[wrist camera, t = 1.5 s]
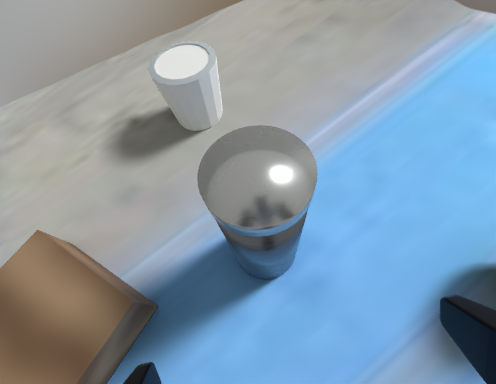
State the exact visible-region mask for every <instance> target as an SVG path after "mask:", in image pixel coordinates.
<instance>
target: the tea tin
mask: <svg viewBox="0 0 496 384" xmlns="http://www.w3.org/2000/svg"><path fill="white" fill-rule="evenodd" d="M316 182H317V166H316V162H315V159H314V156H313V154H312V153H311V151H310V149H309V148H308V147H307V145H306V144H305V143H304V142H303V141H302V140H301V139H299V138H298V137H297V136H295V135H294V134H292V133H290V132H288V131H286V130H283V129H280V128H277V127H271V126H248V127H244V128H240V129H237V130H234V131H232V132H230V133H228V134H226V135H224V136H222V137H221V138H220V139H218V140H217V141H216V142H215V143H214V144H212V146H211V147H210V148H209V149H208V150H207V152H206V153H205V155H204V156H203V158H202V160H201V163H200V166H199V170H198V187H199V191H200V194H201V196H202V198H203V200H204V202H205V204H206V206H207V207H208V209H209V211H210V213H211V214H212V216H213V217H214V218H215V220H216V221H217V223H218V225H219V227H220V229H221V230H222V232H223V234H224V236H225V238H226V239H227V241H228V243H229V245H230V247H231V248H232V250H233V252H234V254H235V256H236V257H237V259H238V261H239V263H240V264H241V266H242V267H243V269H244V270H245V271H246V272H247V273H249V274H250V275H252V276H254V277H257V278H261V279H272V278H276V277H278V276H280V275H282V274H284V273H285V272H286V271H287V270H288V269H289V268H290V266H291V265H292V263H293V261H294V258H295V254H296V251H297V247H298V243H299V240H300V236H301V233H302V229H303V225H304V222H305V218H306V215H307V211H308V208H309V205H310V203H311V201H312V197H313V194H314V190H315V186H316Z"/></svg>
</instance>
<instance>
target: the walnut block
mask: <svg viewBox="0 0 496 384" xmlns="http://www.w3.org/2000/svg"><path fill="white" fill-rule="evenodd" d="M157 307H158V306H157V305H156V304H154V303H153V302H151V301H150V300H149V299H147V298H146V297H145V296H143V295H142V294H140V293H139V292H138V291H136V290H135V289H133V288H132V287H131V286H129V285H128V284H127V283H125V282H124V281H122V280H121V279H120V278H118V277H117V276H116V275H114V274H113V273H111V272H110V271H109V270H107V269H106V268H105V267H103V266H102V265H100V264H99V263H98V262H96V261H95V260H93V259H92V258H91V257H89V256H88V255H87V254H85V253H84V252H82V251H81V250H80V249H78V248H77V247H76V246H74V245H73V244H71V243H68V242H66V241H64V240H61V239H59V238H56V237H54V236H51V235H49V234H46V233H44V232H42V231H39V230H37V231H36V232H35V233H34V234H33V235H32V236H31V237H30V238H29V239H28V240H27V241H26V242H25V243H24V244H23V245H22V246H21V247H20V249H19V250H18V251H17V252H16V253H15V254H14V255H13V256H12V257H11V258H10V259H9V260H8V261H7V262H6V263H5V264H4V265H3V266H2V267H1V268H0V384H107V382H108V381H109V379H110V378H111V376H112V375H113V373H114V372H115V370H116V369H117V367H118V366H119V364H120V363H121V361H122V360H123V358H124V357H125V355H126V354H127V352H128V351H129V349H130V348H131V346H132V345H133V343H134V342H135V340H136V339H137V337H138V336H139V334H140V333H141V331H142V330H143V328H144V327H145V325H146V324H147V322H148V321H149V319H150V318H151V316H152V314H153V313H154V311H155V310H156V308H157Z"/></svg>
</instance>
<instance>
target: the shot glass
mask: <svg viewBox="0 0 496 384" xmlns="http://www.w3.org/2000/svg"><path fill="white" fill-rule="evenodd" d="M148 70H149V73H150V76H151V78H152V79H153V81H154V83H155V84H156V86H157V88H158V89H159V91H160V92H161V94H162V96H163V97H164V99H165V101H166V102H167V104H168V105H169V107H170V109H171V110H172V112H173V113H174V115H175V117H176V118H177V120H178V122H179V123H180V125H182V126H183V127H184V128H185V129H188V130H192V131H199V130H205V129H207V128H210V127H212V126H213V125H215V124H216V123H217V122H218V121H219V120H220V118H221V116H222V110H223V108H222V99H221V91H220V83H219V75H218V67H217V58H216V53H215V52H214V50H213V49H212V47H210V46H209V45H207V44H205V43H203V42H196V41H186V42H179V43H176V44H173V45H170V46H167V47H166V48H164V49H162V50H161V51H159V52H158V53H157V54H156V55H155V56H154V57H153V58H152V59H151V61H150V64H149V68H148Z"/></svg>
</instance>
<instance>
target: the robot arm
mask: <svg viewBox="0 0 496 384" xmlns="http://www.w3.org/2000/svg"><path fill="white" fill-rule="evenodd" d="M440 320H441V323H442V325H443V327H444V328H445V330H446V331H447V332H448V334H449V335H450V336H451V338H452V339H453V340H454V342H455V343H456V344H457V346H458V347H459V348H460V350H461V351H462V352H463V354H464V355H465V356H466V358H467V359H468V360H469V362H470V363H471V364H472V366H473V367H474V368H475V370H476V371H477V372H478V373H479V375H480V376H481V377H482V378H483V380H484V381H485V382H486V383H487V384H496V310H494V309H492V308H489V307H486V306H484V305H481V304H479V303H476V302H473V301H471V300H468V299H466V298H463V297H461V296H458V295H450V296H446V297H443V298H441V300H440ZM123 384H161V380H160V377H159V375H158V372H157V370H156V368H155V365H154V364H153V363H152V362H149V363H144V364H140V365H138V366H137V367H136V368H135V370H134V371H133V372H132V373H131V374H130V376H129V377H128V378H127V379H126V381H125V382H124V383H123Z"/></svg>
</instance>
